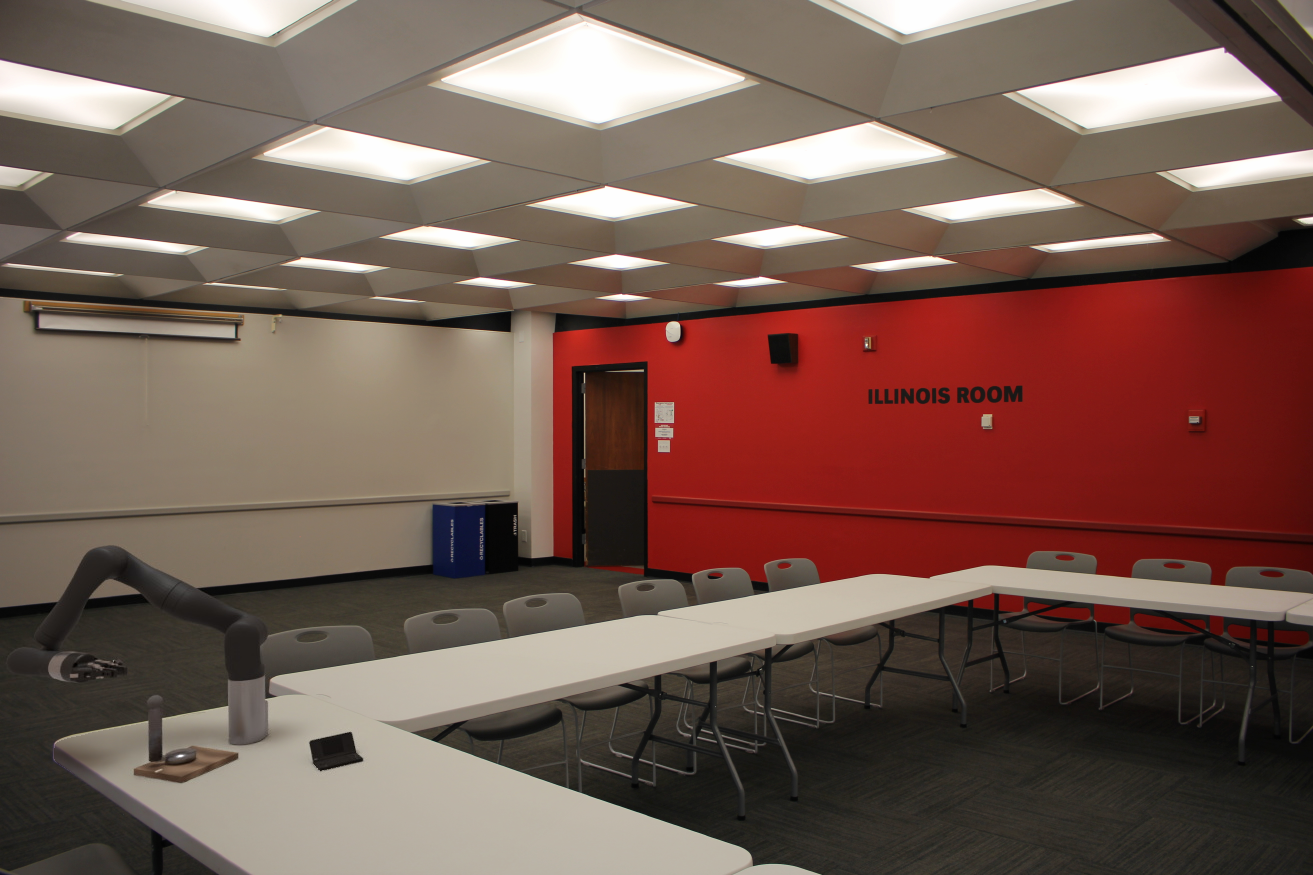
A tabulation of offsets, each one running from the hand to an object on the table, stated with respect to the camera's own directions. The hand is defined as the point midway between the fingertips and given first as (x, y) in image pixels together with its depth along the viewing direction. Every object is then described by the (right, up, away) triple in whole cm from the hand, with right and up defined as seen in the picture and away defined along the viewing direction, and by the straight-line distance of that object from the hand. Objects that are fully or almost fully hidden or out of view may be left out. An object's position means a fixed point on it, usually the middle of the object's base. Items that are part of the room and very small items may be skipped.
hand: (120, 672), depth 219 cm
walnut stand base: (+17, -24, 0) cm, 29 cm away
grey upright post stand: (+14, -22, -1) cm, 26 cm away
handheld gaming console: (+54, -24, +3) cm, 59 cm away
